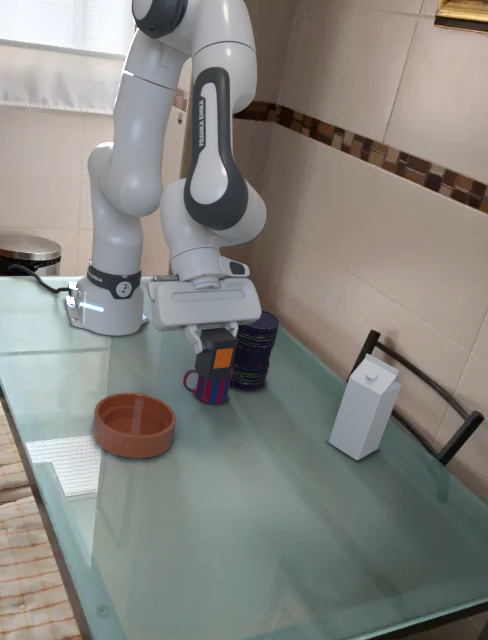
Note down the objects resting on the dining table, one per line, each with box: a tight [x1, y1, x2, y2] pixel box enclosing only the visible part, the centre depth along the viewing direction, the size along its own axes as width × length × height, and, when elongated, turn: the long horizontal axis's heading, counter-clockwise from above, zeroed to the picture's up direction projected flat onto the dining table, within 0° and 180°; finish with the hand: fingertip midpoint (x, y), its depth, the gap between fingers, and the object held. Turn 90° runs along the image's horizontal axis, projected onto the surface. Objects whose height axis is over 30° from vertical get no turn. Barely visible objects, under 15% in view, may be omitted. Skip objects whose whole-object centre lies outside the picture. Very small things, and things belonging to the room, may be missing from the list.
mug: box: [182, 368, 233, 405], centre depth 133 cm, size 7×10×7 cm
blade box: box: [193, 327, 238, 381], centre depth 112 cm, size 5×5×8 cm
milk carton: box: [328, 353, 402, 461], centre depth 124 cm, size 7×7×19 cm
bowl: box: [92, 392, 177, 459], centre depth 118 cm, size 14×14×5 cm
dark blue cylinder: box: [229, 309, 280, 392], centre depth 140 cm, size 10×10×15 cm
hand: (216, 351), depth 111 cm, fingers closed on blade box, 4 cm apart
